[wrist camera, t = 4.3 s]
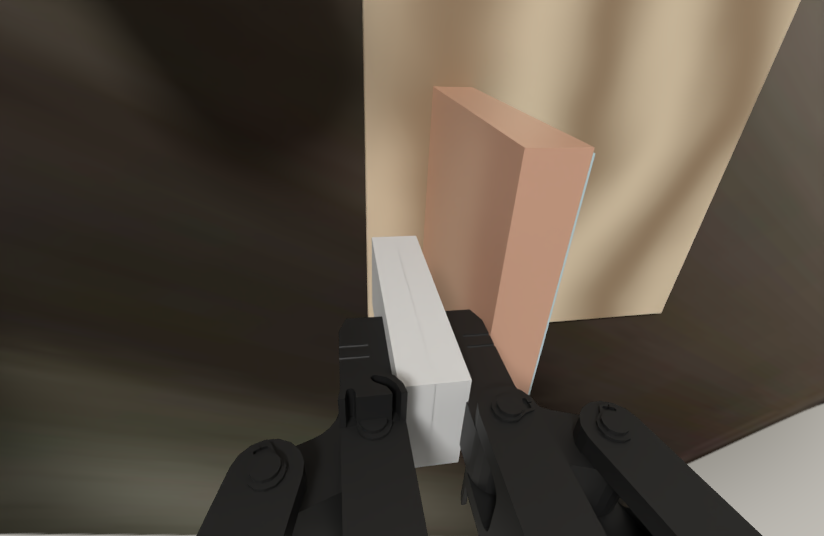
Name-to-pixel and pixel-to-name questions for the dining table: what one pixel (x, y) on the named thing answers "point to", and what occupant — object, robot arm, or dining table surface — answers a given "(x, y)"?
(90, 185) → the dining table surface
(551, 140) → the tile
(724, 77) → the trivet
